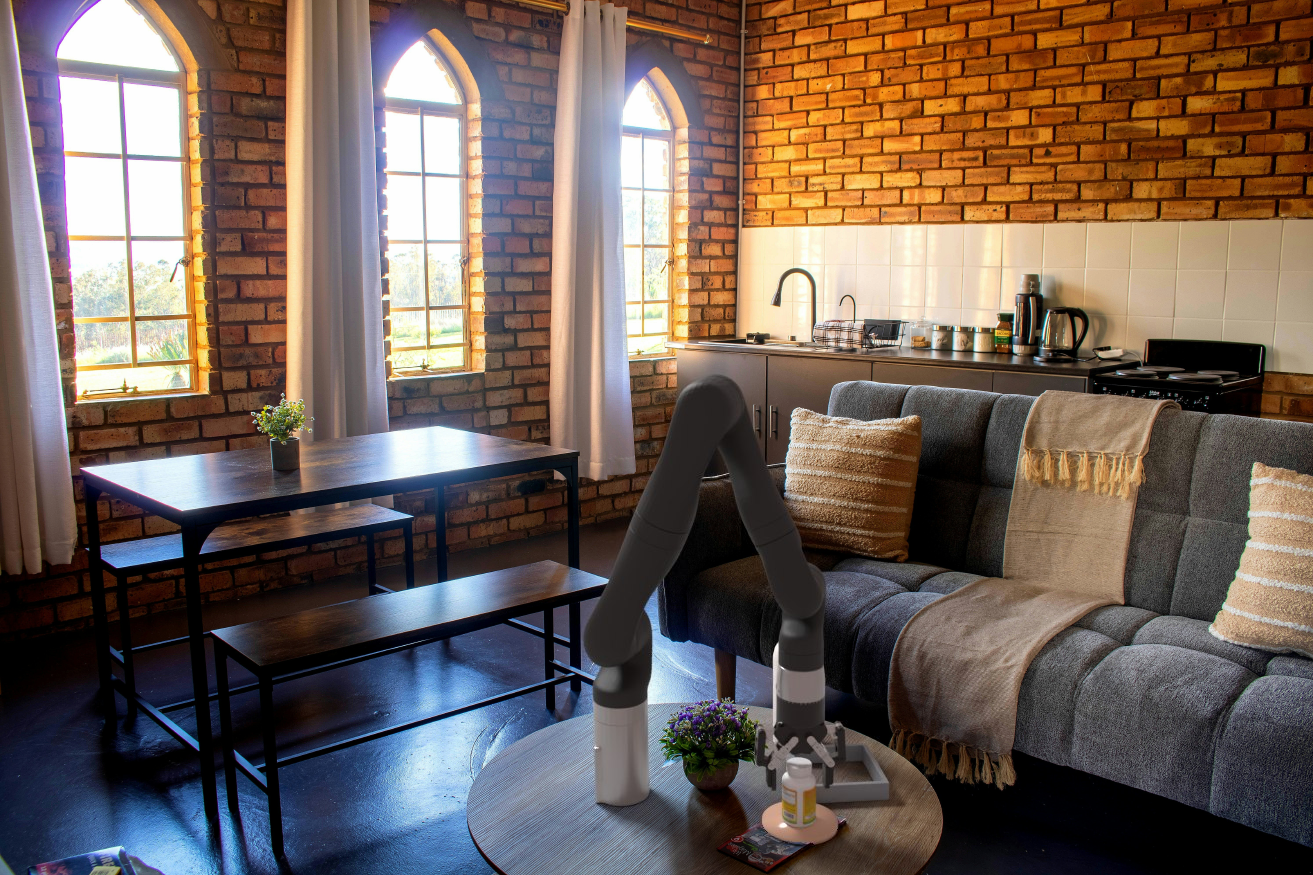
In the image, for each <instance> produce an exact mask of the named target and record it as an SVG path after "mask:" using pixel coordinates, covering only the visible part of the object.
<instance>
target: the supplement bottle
mask: <svg viewBox="0 0 1313 875" xmlns="http://www.w3.org/2000/svg"><path fill="white" fill-rule="evenodd" d="M785 769H786V772H784V773H783V775H782V778H781V802H782V819H783V821H784V822H785V823H786V824H788V825H789V826H792V827H797V828H803V827H808V826H811V825H812V824H813V823H814V822H815V820H816V784H817V779H816V777H815V775H814V774H813V773H812V771H813V763H811V761H809V760H808V759H805V758H800V757H796V758H791V759H789V760H788V761H787V764H786V767H785Z"/></svg>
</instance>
